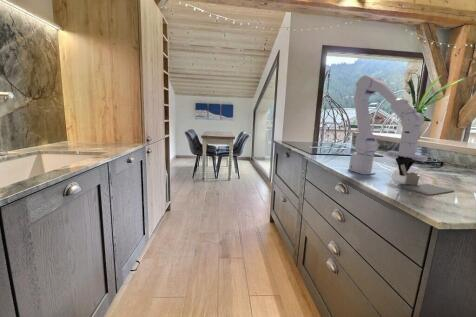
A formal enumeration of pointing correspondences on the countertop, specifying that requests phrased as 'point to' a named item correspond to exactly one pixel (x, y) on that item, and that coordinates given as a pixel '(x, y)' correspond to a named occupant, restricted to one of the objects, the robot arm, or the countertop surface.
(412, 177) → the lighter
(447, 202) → the countertop surface
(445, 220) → the countertop surface
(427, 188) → the mat
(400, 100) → the robot arm
